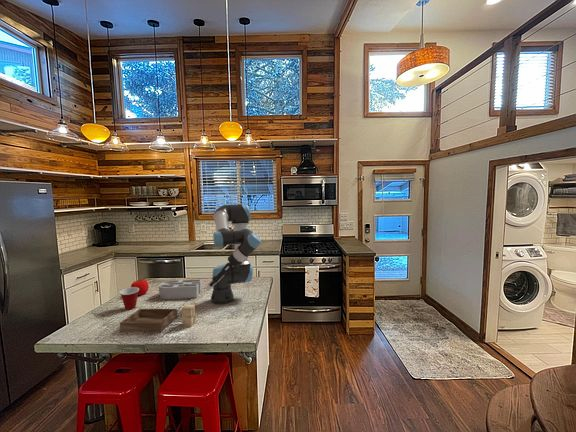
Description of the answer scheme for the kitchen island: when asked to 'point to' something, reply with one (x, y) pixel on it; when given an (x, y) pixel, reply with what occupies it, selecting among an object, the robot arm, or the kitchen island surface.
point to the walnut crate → (148, 320)
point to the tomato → (141, 286)
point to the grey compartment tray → (180, 289)
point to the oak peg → (188, 315)
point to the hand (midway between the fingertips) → (210, 285)
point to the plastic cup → (129, 297)
